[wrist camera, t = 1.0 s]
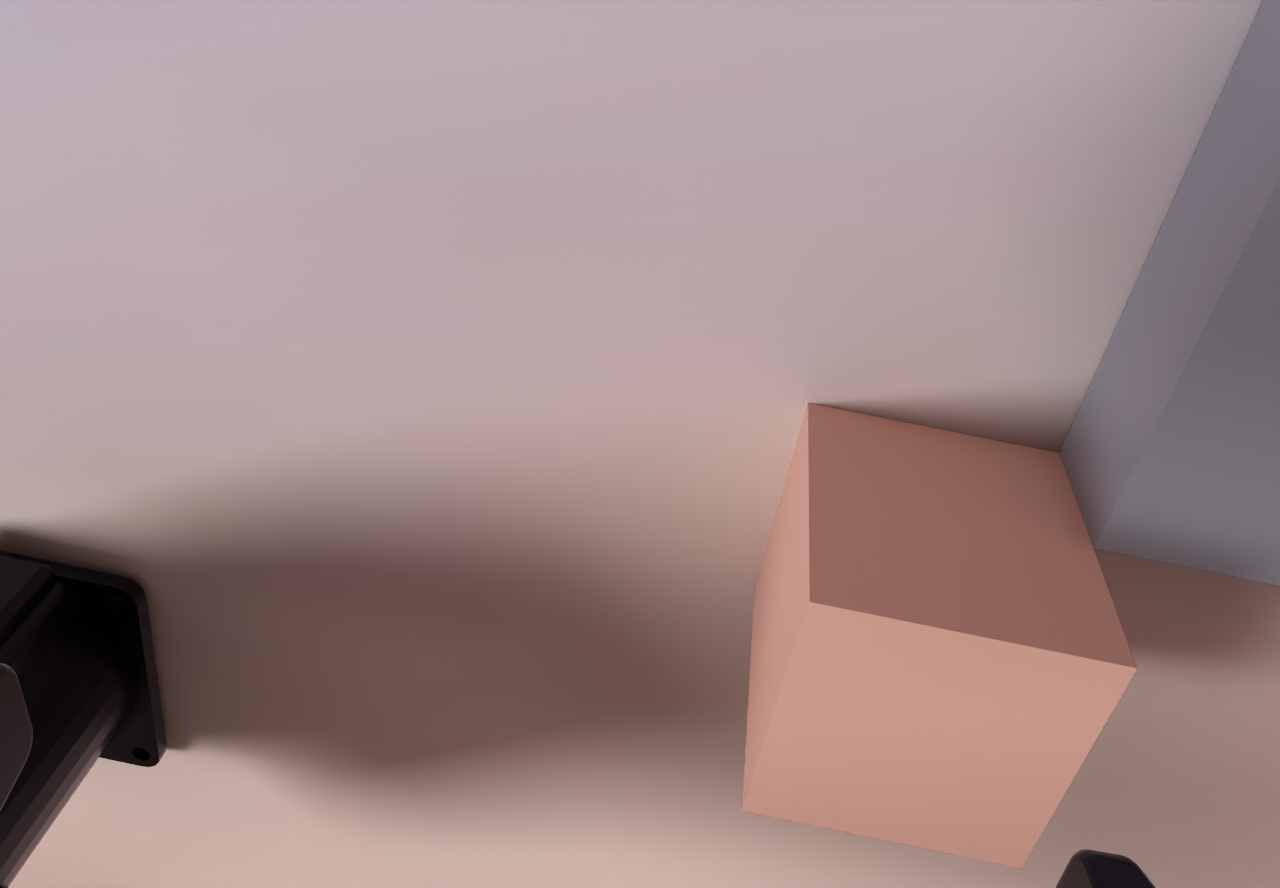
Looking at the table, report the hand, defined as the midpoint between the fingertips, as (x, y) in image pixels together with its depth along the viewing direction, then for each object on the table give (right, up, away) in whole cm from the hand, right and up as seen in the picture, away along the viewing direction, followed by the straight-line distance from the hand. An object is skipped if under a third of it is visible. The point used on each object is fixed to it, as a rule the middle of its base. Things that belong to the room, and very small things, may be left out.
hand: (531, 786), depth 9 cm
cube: (+6, +1, +14) cm, 15 cm away
